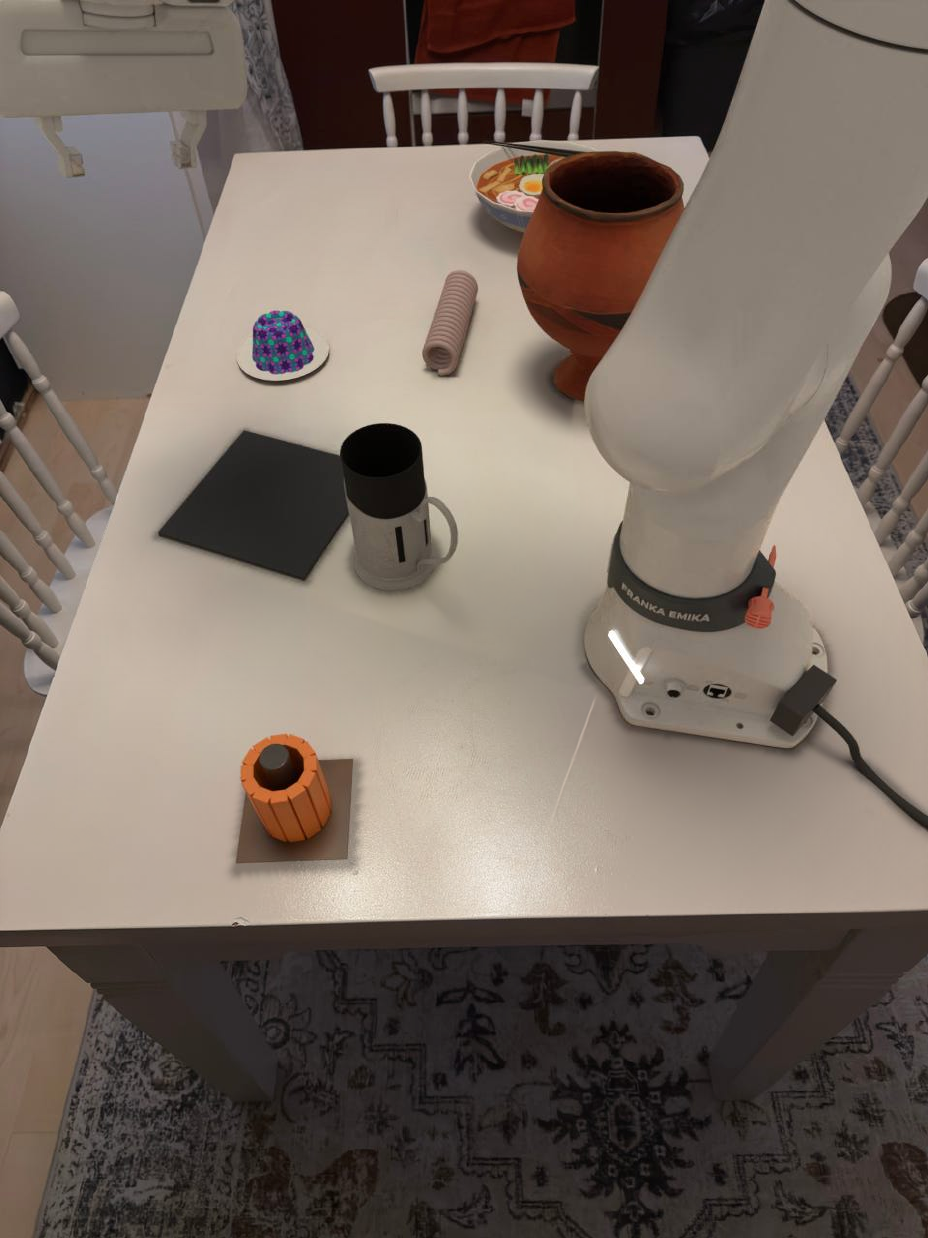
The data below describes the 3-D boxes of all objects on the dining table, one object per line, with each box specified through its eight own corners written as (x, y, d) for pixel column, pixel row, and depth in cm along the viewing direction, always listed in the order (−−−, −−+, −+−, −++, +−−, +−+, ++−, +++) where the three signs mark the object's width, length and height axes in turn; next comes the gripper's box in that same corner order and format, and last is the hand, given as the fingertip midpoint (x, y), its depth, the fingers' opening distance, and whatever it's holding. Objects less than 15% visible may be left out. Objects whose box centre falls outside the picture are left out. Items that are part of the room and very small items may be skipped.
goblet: (678, 429, 99) (726, 222, 79) (516, 432, 99) (524, 227, 80) (654, 334, 111) (691, 133, 91) (510, 337, 111) (515, 138, 91)
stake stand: (354, 765, 73) (337, 702, 65) (349, 864, 68) (329, 810, 60) (252, 768, 73) (222, 706, 65) (239, 868, 68) (204, 815, 60)
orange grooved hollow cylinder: (343, 790, 71) (329, 748, 65) (310, 852, 67) (293, 813, 61) (283, 768, 72) (264, 724, 66) (248, 827, 69) (226, 787, 63)
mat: (379, 468, 96) (378, 465, 96) (304, 581, 86) (303, 577, 86) (244, 432, 101) (243, 429, 100) (158, 535, 91) (157, 532, 90)
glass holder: (399, 516, 92) (386, 405, 80) (490, 587, 85) (490, 479, 73) (337, 558, 88) (313, 449, 76) (426, 636, 82) (415, 530, 70)
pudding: (323, 324, 114) (316, 288, 110) (336, 376, 107) (330, 340, 103) (234, 338, 112) (225, 303, 108) (242, 392, 105) (232, 356, 101)
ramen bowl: (439, 244, 126) (436, 189, 119) (495, 176, 138) (495, 123, 132) (598, 276, 119) (605, 220, 113) (641, 202, 132) (649, 148, 126)
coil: (458, 348, 103) (480, 269, 113) (421, 342, 103) (447, 263, 113) (455, 379, 106) (477, 300, 117) (419, 373, 106) (445, 294, 117)
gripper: (-42, -35, 53) (10, 195, 62) (253, -22, 63) (258, 174, 73) (-70, -57, 56) (-17, 166, 66) (215, -40, 66) (225, 150, 76)
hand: (130, 170), depth 69 cm, fingers open, 8 cm apart
